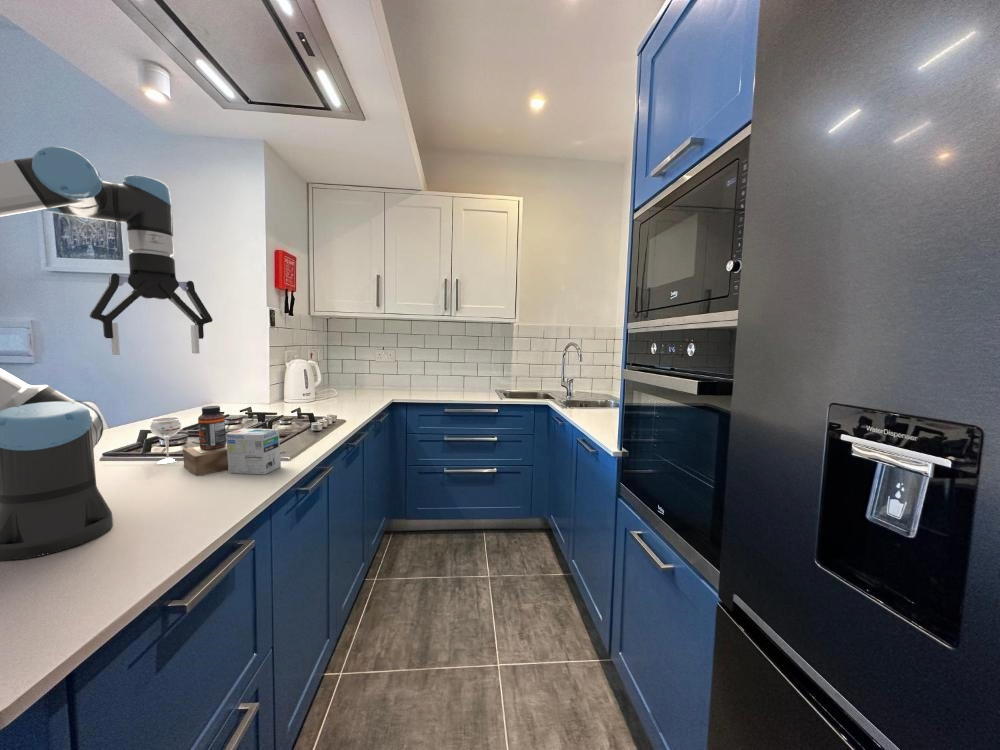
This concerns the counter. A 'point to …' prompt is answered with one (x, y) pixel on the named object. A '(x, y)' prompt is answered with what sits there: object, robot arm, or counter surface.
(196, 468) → the walnut riser
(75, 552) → the counter surface
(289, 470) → the counter surface
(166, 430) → the wineglass
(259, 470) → the light bulb box
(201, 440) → the supplement bottle
